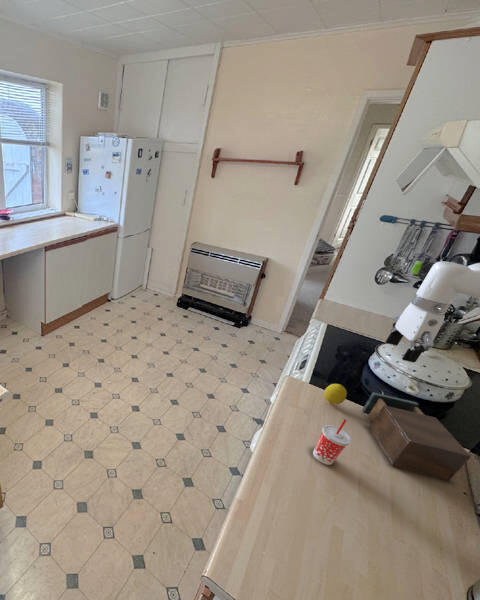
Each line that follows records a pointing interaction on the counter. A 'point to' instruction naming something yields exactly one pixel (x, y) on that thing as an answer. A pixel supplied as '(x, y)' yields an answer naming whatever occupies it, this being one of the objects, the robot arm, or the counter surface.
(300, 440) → the counter surface
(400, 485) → the counter surface
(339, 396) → the lemon
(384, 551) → the counter surface
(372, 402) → the drawer
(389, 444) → the cabinet
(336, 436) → the beverage cup
